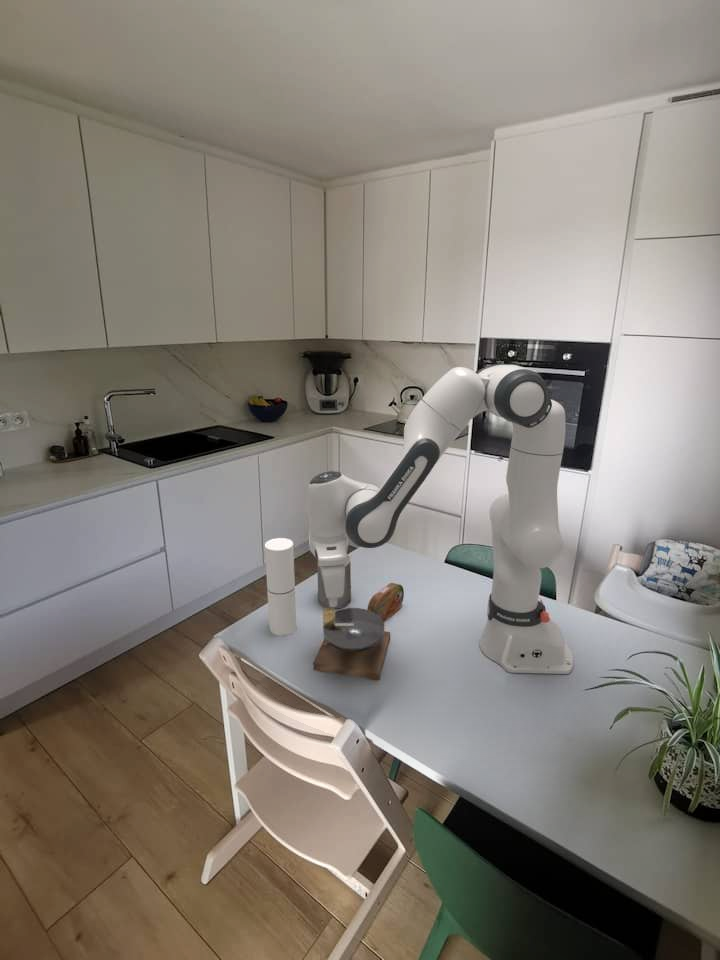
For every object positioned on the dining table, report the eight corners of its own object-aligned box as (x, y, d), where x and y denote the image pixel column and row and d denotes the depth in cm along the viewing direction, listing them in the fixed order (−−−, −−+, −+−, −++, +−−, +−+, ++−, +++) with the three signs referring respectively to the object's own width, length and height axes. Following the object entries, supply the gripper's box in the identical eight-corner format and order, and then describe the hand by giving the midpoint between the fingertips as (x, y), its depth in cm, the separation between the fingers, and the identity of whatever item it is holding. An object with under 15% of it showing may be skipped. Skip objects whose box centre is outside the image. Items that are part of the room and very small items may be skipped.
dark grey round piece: (382, 614, 130) (382, 594, 128) (386, 651, 116) (386, 629, 114) (324, 614, 130) (324, 594, 128) (321, 652, 115) (321, 630, 113)
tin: (374, 630, 134) (374, 603, 131) (364, 626, 135) (365, 599, 133) (404, 605, 145) (405, 580, 142) (395, 602, 147) (396, 576, 144)
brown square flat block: (390, 638, 130) (390, 619, 128) (379, 680, 116) (379, 659, 114) (331, 629, 134) (331, 610, 132) (313, 669, 119) (312, 648, 117)
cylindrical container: (264, 631, 133) (259, 547, 124) (278, 617, 139) (274, 536, 131) (287, 638, 130) (284, 552, 122) (301, 623, 136) (298, 540, 128)
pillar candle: (332, 588, 154) (331, 544, 149) (357, 598, 148) (357, 553, 143) (311, 602, 146) (309, 557, 141) (337, 614, 141) (336, 567, 136)
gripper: (310, 524, 123) (313, 573, 127) (318, 563, 104) (321, 620, 108) (336, 522, 124) (337, 571, 128) (348, 560, 105) (350, 617, 109)
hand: (330, 594), depth 118 cm, fingers open, 8 cm apart
